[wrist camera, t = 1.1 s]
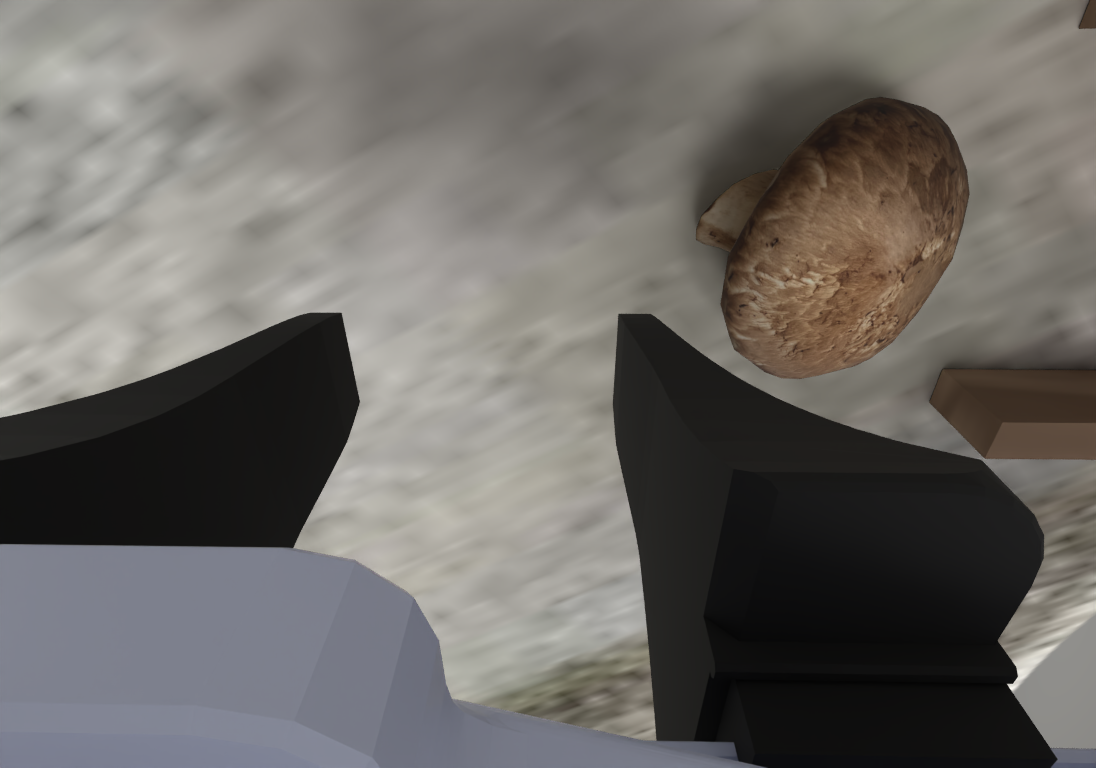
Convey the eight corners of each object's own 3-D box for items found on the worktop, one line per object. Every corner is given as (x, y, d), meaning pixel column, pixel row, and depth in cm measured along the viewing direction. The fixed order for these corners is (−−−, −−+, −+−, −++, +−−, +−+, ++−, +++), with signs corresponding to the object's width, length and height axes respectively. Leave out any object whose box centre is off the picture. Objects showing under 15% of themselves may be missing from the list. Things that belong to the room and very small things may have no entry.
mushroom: (603, 246, 17) (793, 342, 12) (776, 10, 16) (1032, 29, 12) (702, 355, 23) (852, 443, 19) (830, 186, 22) (1012, 238, 18)
